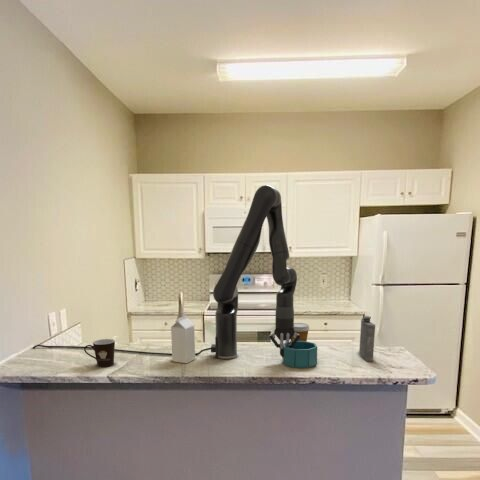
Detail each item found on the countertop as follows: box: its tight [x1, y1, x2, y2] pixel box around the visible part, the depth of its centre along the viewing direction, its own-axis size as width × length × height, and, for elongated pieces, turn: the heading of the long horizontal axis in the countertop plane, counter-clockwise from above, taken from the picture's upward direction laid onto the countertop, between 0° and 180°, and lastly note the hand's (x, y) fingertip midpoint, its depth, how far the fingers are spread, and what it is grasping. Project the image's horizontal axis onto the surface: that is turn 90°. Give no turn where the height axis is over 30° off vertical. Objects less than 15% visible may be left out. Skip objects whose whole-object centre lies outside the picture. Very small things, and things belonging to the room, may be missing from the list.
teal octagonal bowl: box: [282, 340, 318, 369], centre depth 169 cm, size 14×14×8 cm
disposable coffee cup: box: [290, 322, 310, 342], centre depth 187 cm, size 10×10×12 cm
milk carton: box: [170, 315, 196, 364], centre depth 172 cm, size 7×7×19 cm
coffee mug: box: [83, 338, 116, 368], centre depth 167 cm, size 12×9×10 cm
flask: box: [358, 315, 376, 363], centre depth 176 cm, size 4×14×18 cm, turn 177°
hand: (284, 356), depth 169 cm, fingers closed on teal octagonal bowl, 1 cm apart
